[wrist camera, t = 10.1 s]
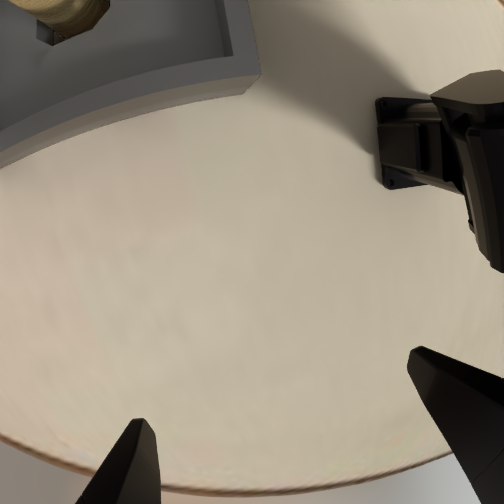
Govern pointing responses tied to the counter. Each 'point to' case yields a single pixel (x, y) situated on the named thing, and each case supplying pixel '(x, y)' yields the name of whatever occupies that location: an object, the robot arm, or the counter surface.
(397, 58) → the counter surface
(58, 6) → the brass peg
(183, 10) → the tray
